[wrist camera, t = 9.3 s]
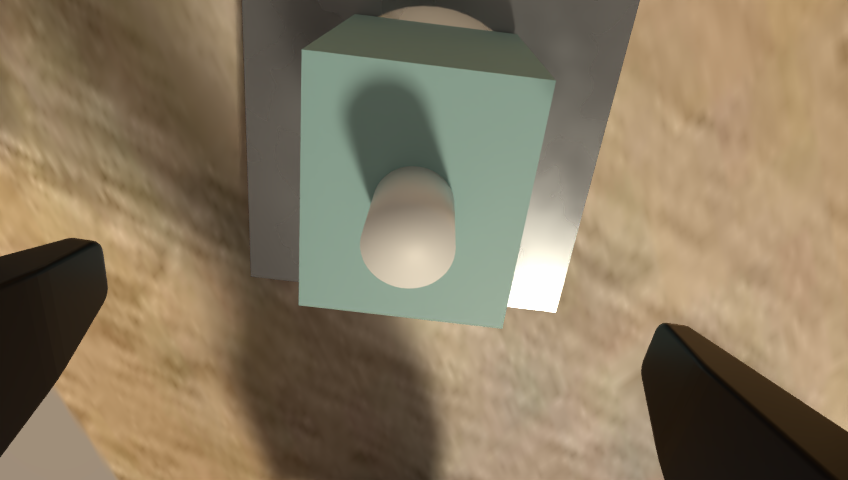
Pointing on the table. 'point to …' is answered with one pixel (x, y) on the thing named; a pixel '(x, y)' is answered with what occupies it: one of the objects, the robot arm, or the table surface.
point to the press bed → (453, 6)
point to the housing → (417, 168)
